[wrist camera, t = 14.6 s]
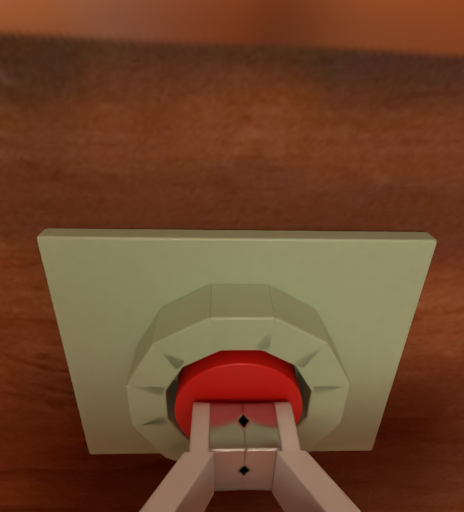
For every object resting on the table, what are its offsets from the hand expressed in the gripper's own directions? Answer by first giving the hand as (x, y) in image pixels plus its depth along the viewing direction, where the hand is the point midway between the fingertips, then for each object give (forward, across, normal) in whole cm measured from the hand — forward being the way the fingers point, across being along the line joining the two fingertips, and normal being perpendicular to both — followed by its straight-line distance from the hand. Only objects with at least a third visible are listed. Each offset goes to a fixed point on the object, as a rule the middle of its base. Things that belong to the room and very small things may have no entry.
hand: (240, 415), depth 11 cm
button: (+2, 0, 0) cm, 2 cm away
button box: (+3, 0, 0) cm, 3 cm away
